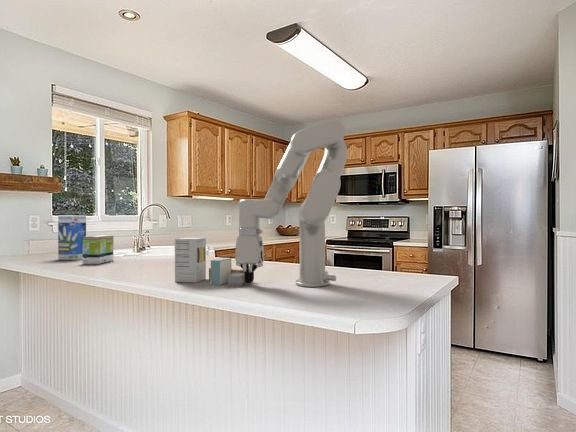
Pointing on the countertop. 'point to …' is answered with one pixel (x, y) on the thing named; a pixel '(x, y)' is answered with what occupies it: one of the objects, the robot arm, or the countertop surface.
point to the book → (220, 271)
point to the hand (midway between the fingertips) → (249, 282)
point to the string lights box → (71, 237)
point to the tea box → (97, 249)
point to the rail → (231, 269)
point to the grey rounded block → (236, 279)
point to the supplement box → (190, 259)
